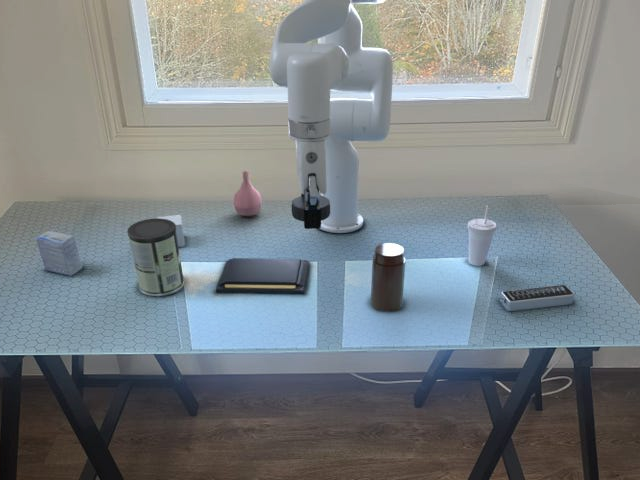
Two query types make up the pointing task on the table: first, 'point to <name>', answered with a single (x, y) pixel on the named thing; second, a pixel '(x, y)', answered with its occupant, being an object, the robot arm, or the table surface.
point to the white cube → (177, 228)
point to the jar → (388, 277)
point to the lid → (299, 206)
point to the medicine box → (59, 253)
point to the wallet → (264, 276)
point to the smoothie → (480, 239)
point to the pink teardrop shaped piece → (247, 198)
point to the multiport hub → (536, 297)
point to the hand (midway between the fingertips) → (311, 218)
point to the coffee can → (156, 256)
